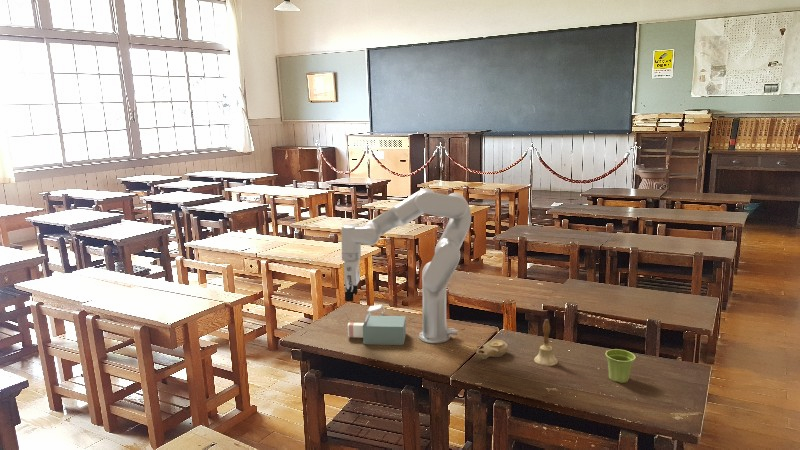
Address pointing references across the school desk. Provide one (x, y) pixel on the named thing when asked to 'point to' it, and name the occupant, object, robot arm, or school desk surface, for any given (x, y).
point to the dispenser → (384, 330)
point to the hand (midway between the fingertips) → (351, 297)
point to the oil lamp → (492, 349)
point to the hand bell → (546, 349)
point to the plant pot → (619, 364)
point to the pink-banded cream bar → (355, 329)
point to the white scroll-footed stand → (375, 309)
